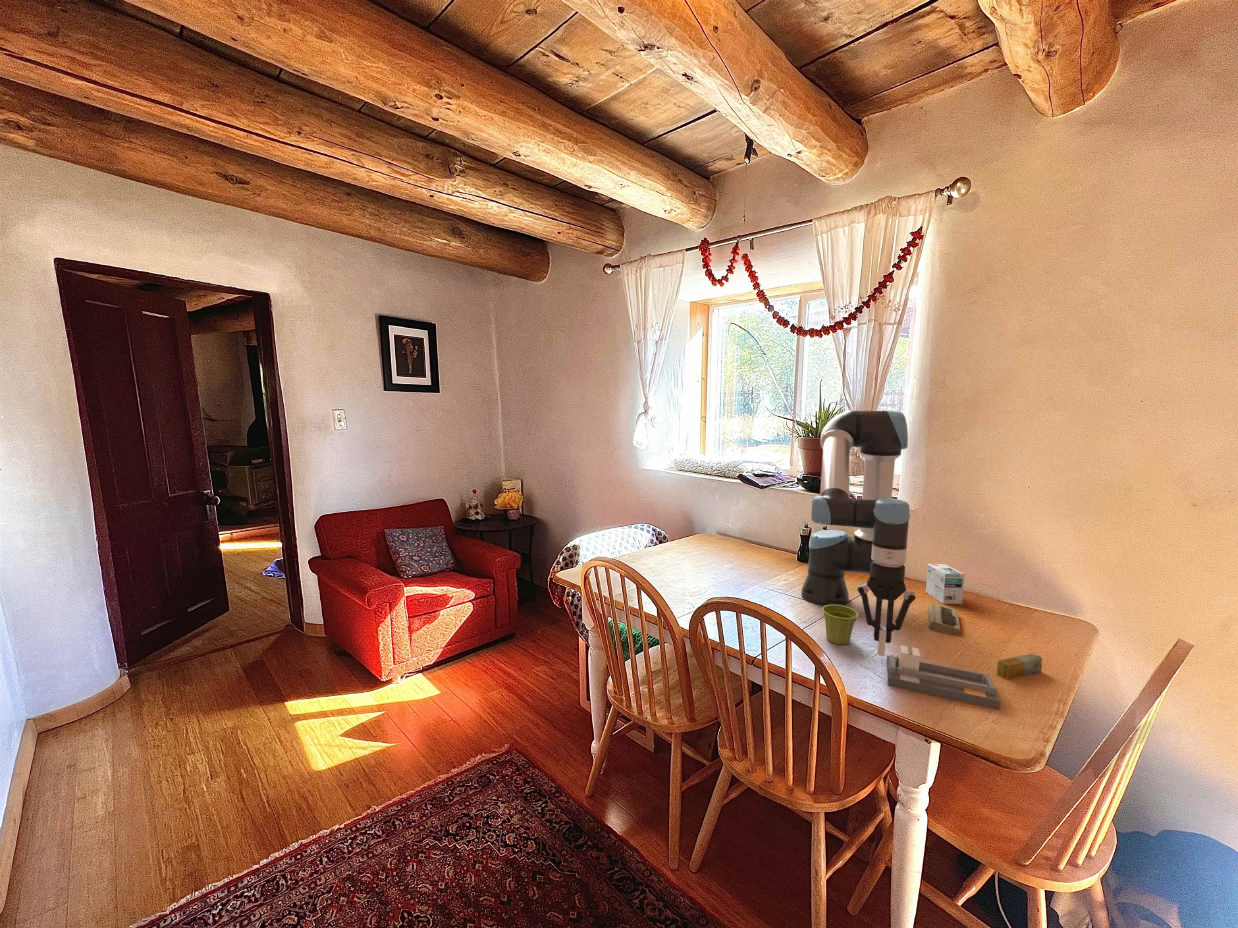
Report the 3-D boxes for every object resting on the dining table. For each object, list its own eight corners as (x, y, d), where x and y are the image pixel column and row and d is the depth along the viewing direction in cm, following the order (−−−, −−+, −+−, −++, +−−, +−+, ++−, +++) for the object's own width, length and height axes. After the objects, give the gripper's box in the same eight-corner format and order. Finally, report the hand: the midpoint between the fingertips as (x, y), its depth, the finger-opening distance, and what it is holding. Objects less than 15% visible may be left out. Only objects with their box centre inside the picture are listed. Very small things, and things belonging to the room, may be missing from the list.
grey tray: (887, 685, 123) (888, 671, 123) (886, 662, 134) (887, 649, 134) (999, 709, 114) (1001, 695, 113) (988, 683, 125) (989, 669, 124)
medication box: (1030, 667, 132) (1032, 653, 132) (1042, 673, 130) (1043, 657, 129) (995, 675, 129) (997, 659, 128) (1006, 680, 126) (1008, 665, 126)
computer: (961, 636, 150) (962, 626, 149) (928, 630, 154) (929, 620, 153) (957, 617, 163) (958, 607, 163) (927, 612, 167) (928, 602, 167)
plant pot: (854, 635, 149) (856, 606, 148) (858, 650, 140) (860, 620, 139) (820, 630, 152) (821, 602, 151) (821, 644, 143) (823, 615, 142)
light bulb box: (962, 604, 172) (965, 573, 171) (942, 604, 172) (945, 573, 171) (943, 592, 183) (946, 563, 181) (924, 592, 183) (927, 563, 182)
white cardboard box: (899, 671, 125) (901, 651, 125) (898, 663, 129) (900, 644, 129) (918, 674, 124) (920, 655, 123) (916, 666, 127) (918, 647, 127)
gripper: (858, 563, 125) (852, 654, 128) (919, 571, 120) (911, 666, 123) (859, 554, 132) (853, 641, 135) (917, 562, 126) (909, 652, 129)
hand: (881, 653), depth 129 cm, fingers closed
